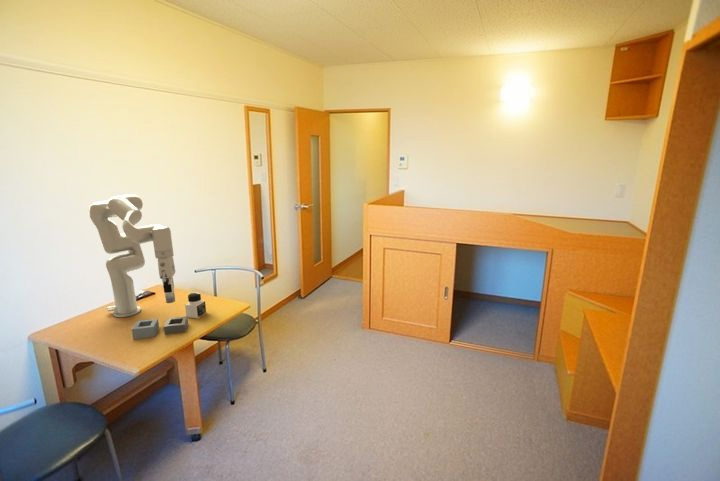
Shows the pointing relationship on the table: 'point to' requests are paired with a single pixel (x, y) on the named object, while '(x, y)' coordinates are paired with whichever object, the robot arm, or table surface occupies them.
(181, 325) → the grey square ring
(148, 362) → the table surface
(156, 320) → the socket block
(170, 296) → the steel rod
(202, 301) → the medicine bottle
